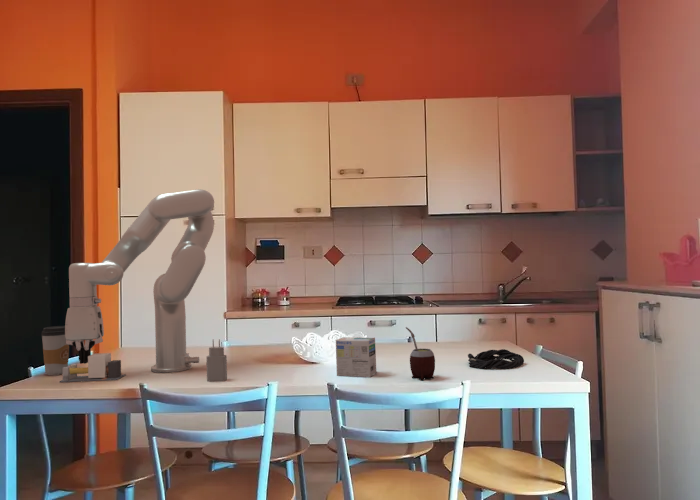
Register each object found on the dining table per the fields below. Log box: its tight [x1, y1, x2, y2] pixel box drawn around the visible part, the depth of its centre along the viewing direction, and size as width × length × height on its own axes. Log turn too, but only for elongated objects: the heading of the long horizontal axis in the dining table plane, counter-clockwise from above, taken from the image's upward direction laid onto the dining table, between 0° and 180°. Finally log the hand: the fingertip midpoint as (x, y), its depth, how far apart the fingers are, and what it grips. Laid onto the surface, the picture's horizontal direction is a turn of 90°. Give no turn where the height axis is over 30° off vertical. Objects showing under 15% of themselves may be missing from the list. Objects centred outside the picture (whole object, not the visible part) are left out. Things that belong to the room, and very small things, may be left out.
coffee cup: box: [41, 325, 70, 376], centre depth 175 cm, size 8×8×15 cm
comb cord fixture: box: [59, 359, 127, 383], centre depth 165 cm, size 17×7×5 cm, turn 92°
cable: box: [467, 348, 525, 370], centre depth 168 cm, size 17×14×4 cm
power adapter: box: [206, 339, 228, 383], centre depth 158 cm, size 3×5×12 cm, turn 86°
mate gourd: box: [405, 326, 436, 382], centre depth 152 cm, size 8×8×15 cm
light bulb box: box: [335, 336, 377, 378], centre depth 160 cm, size 11×7×11 cm, turn 71°
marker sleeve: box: [87, 352, 112, 378], centre depth 165 cm, size 5×5×7 cm
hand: (84, 362), depth 165 cm, fingers closed
